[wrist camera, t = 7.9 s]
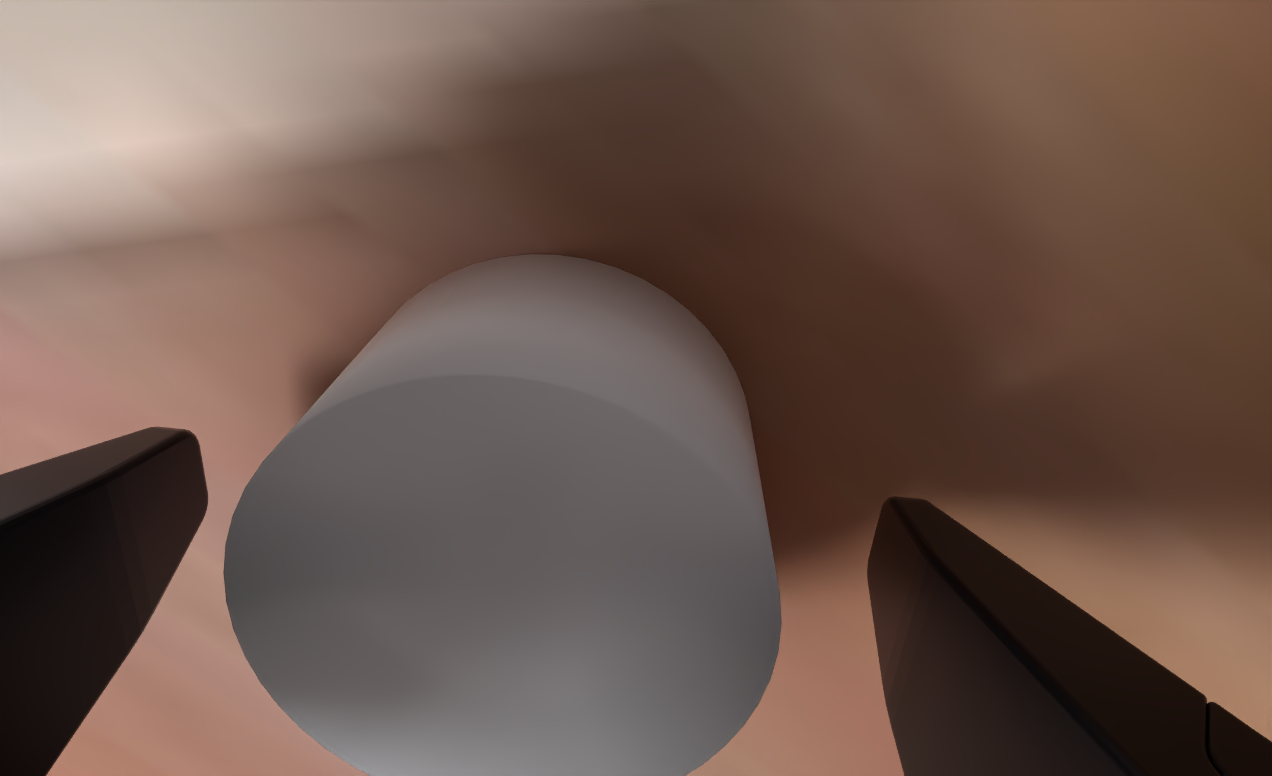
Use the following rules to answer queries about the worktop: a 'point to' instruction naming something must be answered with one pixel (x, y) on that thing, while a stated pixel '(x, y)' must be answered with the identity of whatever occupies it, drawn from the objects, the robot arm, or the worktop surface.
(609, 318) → the grey rounded smooth cylinder
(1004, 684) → the robot arm
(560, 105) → the worktop surface
